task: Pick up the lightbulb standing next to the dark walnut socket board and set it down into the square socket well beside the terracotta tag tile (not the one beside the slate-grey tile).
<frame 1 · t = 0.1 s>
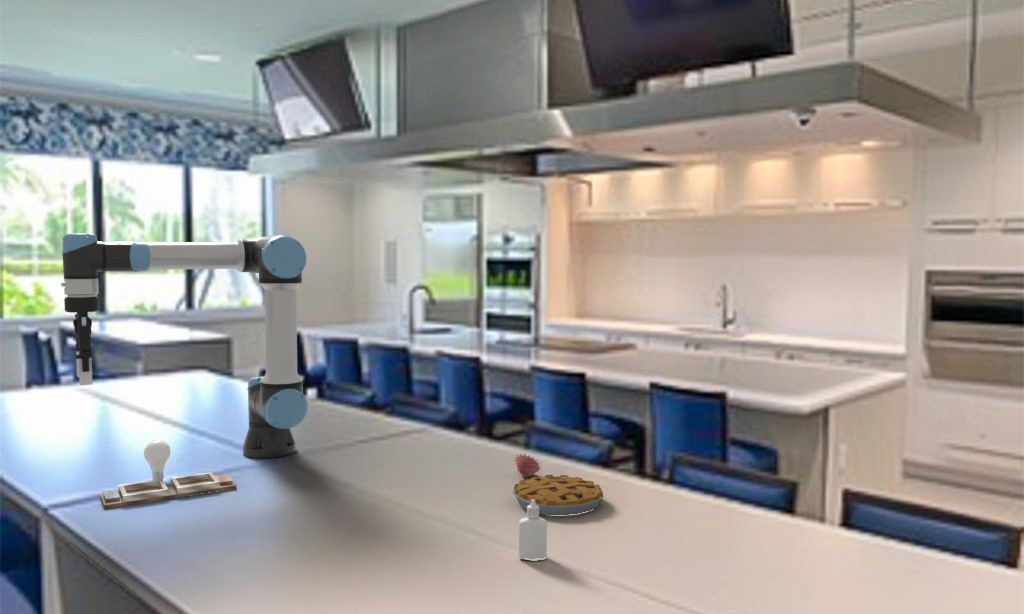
hand: (84, 380, 197), 28 cm above the table, tool pointing down, fingers open, 13 cm apart
socket board: (169, 493, 197), on the table
flower: (526, 476, 214), on the table
eye dropper bottle: (532, 559, 158), on the table
lightbulb: (158, 482, 206), on the table
pie: (557, 505, 192), on the table
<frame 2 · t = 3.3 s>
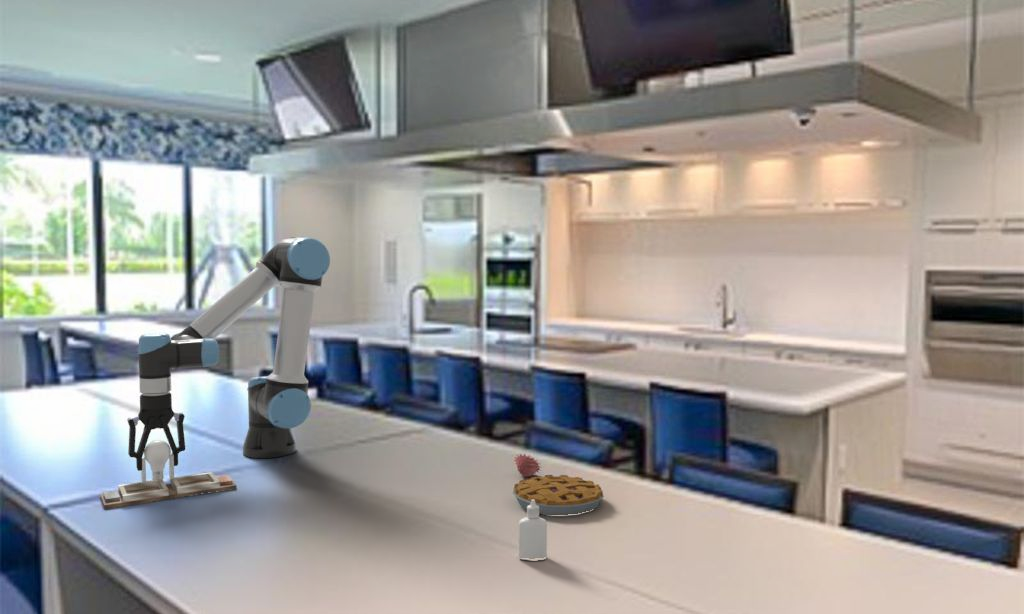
hand: (158, 480, 206), 0 cm above the table, tool pointing down, fingers closed on lightbulb, 6 cm apart
lightbulb: (158, 482, 206), on the table, touching gripper
everything else where it was.
when the fingers open (3 cm above the table, at t = 7.9 s): lightbulb drops 2 cm, resting on socket board.
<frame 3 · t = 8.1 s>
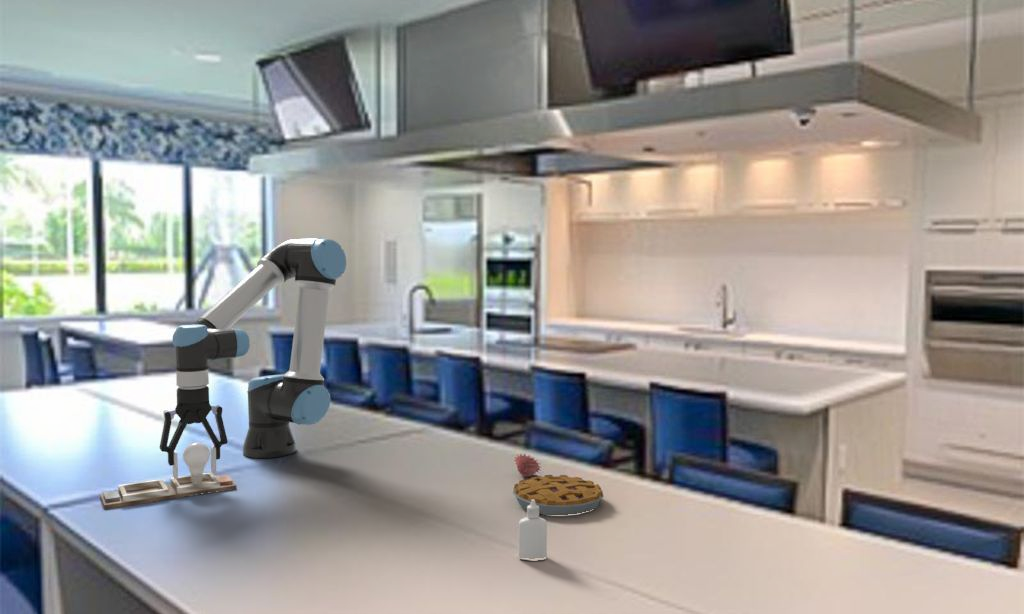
hand: (194, 474, 200), 4 cm above the table, tool pointing down, fingers open, 8 cm apart
lightbulb: (197, 486, 200), point 1 cm above the table, touching socket board
everything else where it was.
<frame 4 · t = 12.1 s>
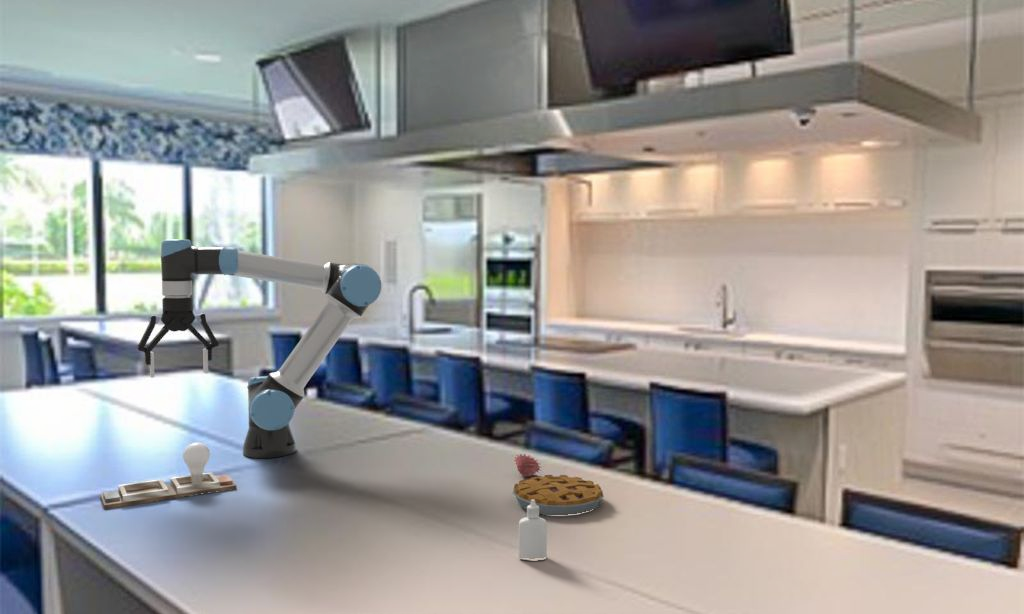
hand: (179, 374, 214), 27 cm above the table, tool pointing down, fingers open, 13 cm apart
nothing on the table moved.
at the end: lightbulb 0.5 cm from the target spot on the socket board, point 0.8 cm above the socket board's base; lightbulb tilted 1°; the gripper is holding nothing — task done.
